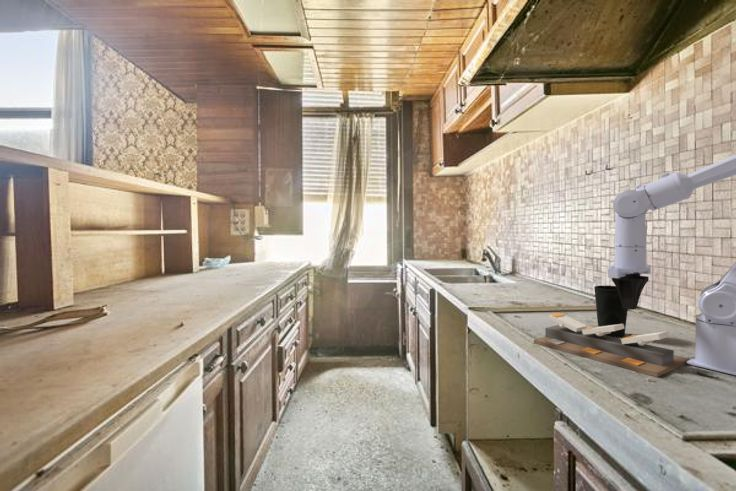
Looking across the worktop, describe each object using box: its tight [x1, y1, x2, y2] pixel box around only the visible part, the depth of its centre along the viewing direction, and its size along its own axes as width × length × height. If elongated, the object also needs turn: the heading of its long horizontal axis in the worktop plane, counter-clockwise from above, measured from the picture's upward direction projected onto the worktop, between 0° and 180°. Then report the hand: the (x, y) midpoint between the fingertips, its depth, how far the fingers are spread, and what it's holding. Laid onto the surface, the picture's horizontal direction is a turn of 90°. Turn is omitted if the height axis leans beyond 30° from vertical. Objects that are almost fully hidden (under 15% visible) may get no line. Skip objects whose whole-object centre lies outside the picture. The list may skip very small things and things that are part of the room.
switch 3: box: [620, 330, 670, 346], centre depth 76 cm, size 7×4×2 cm, turn 31°
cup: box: [593, 285, 629, 338], centre depth 96 cm, size 8×8×12 cm
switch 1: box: [548, 312, 588, 332], centre depth 90 cm, size 7×4×2 cm, turn 31°
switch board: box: [533, 324, 690, 378], centre depth 82 cm, size 25×14×3 cm, turn 31°
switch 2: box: [582, 324, 624, 336], centre depth 83 cm, size 7×4×2 cm, turn 31°
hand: (629, 308), depth 82 cm, fingers closed
